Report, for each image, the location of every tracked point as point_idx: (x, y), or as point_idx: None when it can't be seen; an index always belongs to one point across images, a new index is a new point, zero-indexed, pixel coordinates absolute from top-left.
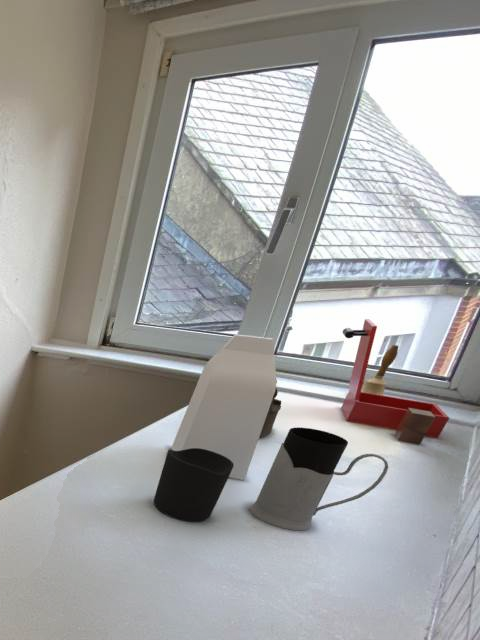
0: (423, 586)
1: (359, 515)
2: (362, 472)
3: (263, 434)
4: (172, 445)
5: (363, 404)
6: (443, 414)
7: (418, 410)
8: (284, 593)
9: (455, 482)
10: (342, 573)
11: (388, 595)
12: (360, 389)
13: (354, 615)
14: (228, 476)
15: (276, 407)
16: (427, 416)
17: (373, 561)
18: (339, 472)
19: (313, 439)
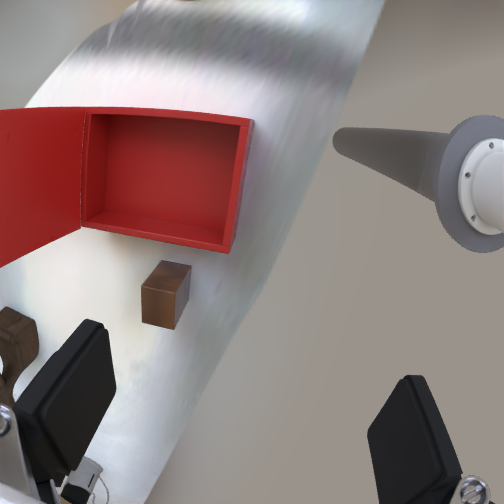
0: (145, 494)
1: (120, 462)
2: (117, 412)
3: (36, 355)
4: (13, 396)
5: (93, 228)
6: (226, 229)
7: (154, 298)
8: (106, 493)
9: (191, 412)
10: (119, 489)
11: (134, 496)
12: (63, 235)
13: (125, 500)
14: (61, 483)
15: (17, 352)
16: (163, 326)
17: (128, 486)
18: (92, 493)
19: (71, 493)
